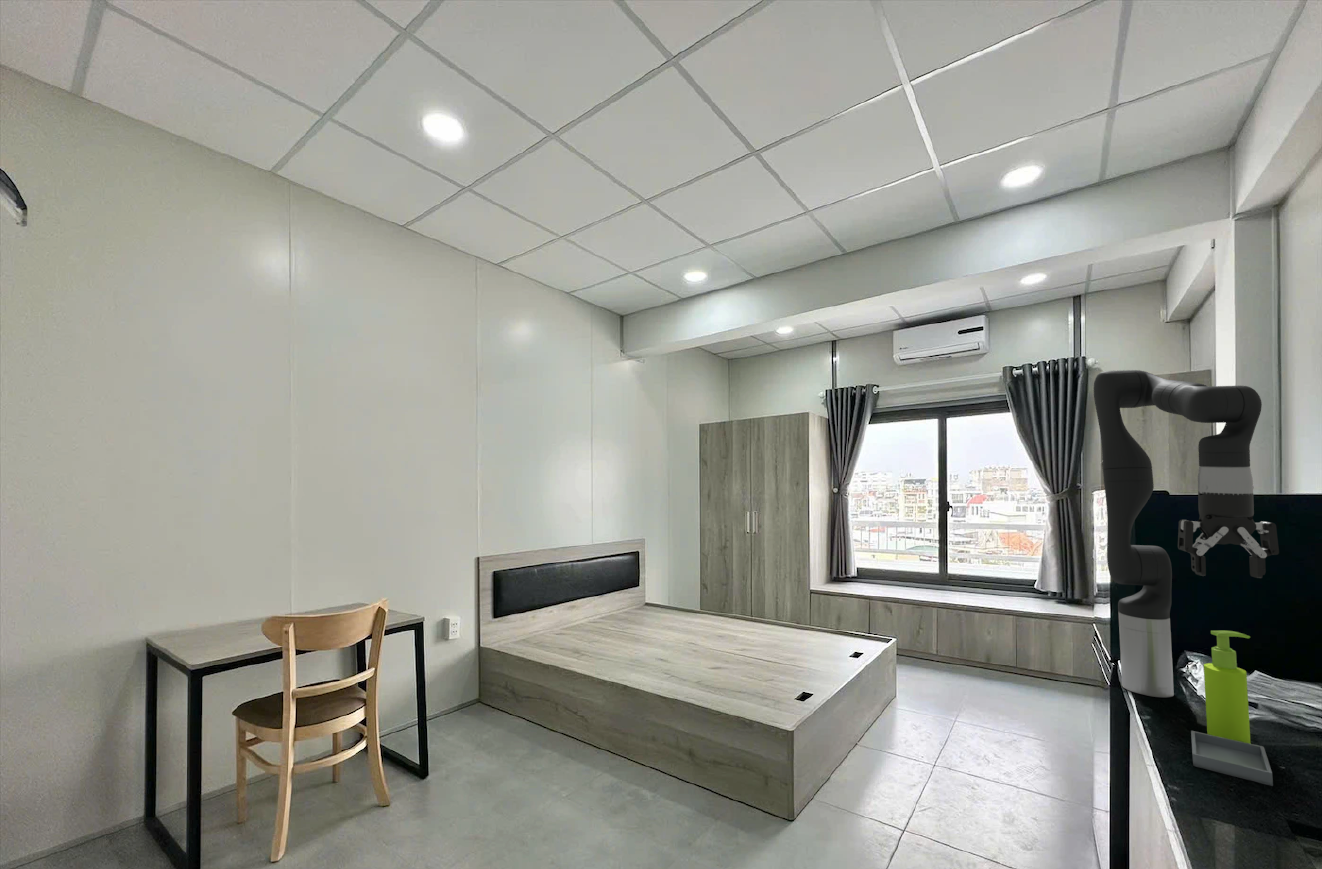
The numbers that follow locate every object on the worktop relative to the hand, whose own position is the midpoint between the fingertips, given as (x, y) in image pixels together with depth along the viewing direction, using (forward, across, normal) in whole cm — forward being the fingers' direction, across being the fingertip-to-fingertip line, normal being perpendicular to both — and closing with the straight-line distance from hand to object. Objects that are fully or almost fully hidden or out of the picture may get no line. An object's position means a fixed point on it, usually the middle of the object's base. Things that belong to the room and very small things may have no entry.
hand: (1227, 576), depth 109 cm
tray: (+31, +6, +10) cm, 33 cm away
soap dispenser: (+31, 0, -1) cm, 31 cm away
